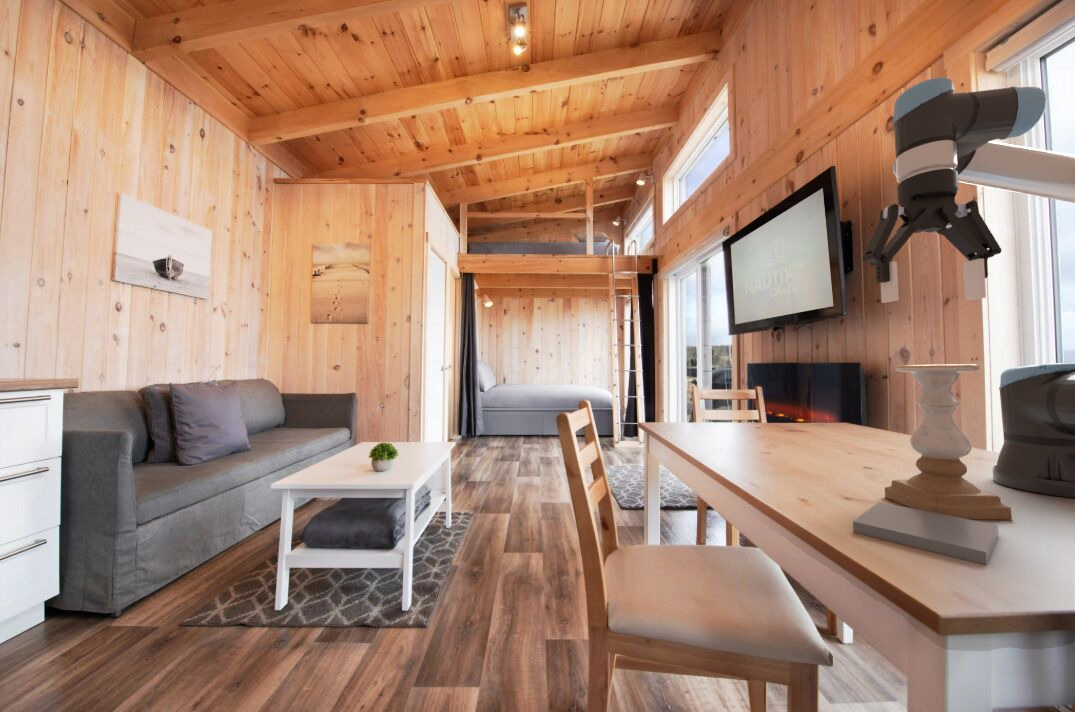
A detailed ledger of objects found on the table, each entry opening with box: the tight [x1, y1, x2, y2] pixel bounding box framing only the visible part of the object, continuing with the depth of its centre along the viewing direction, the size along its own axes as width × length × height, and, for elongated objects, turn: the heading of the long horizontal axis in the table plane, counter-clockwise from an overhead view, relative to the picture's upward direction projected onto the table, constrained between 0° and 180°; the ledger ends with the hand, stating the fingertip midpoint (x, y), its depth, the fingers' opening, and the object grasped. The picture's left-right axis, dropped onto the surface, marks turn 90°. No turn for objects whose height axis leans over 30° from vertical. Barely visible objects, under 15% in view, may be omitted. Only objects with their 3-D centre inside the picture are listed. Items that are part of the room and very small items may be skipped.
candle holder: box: [884, 363, 1013, 521], centre depth 68 cm, size 11×11×24 cm
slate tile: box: [852, 501, 999, 566], centre depth 58 cm, size 13×13×2 cm
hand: (932, 300), depth 69 cm, fingers open, 13 cm apart
